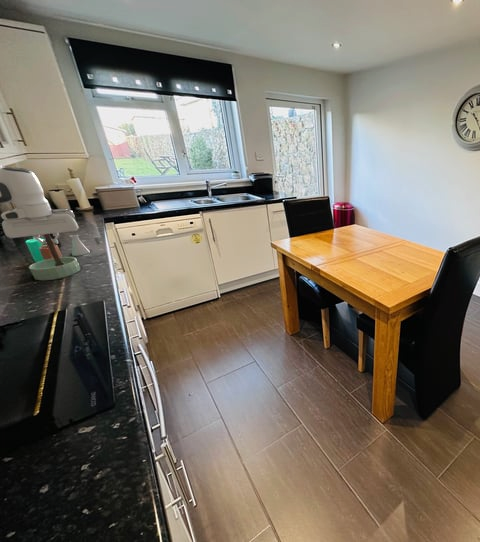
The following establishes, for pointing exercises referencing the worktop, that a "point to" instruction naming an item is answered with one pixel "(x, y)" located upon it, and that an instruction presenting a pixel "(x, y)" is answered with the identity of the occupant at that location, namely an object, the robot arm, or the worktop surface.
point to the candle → (35, 249)
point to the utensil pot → (48, 252)
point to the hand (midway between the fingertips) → (50, 244)
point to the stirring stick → (53, 250)
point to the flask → (78, 246)
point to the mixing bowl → (54, 268)
